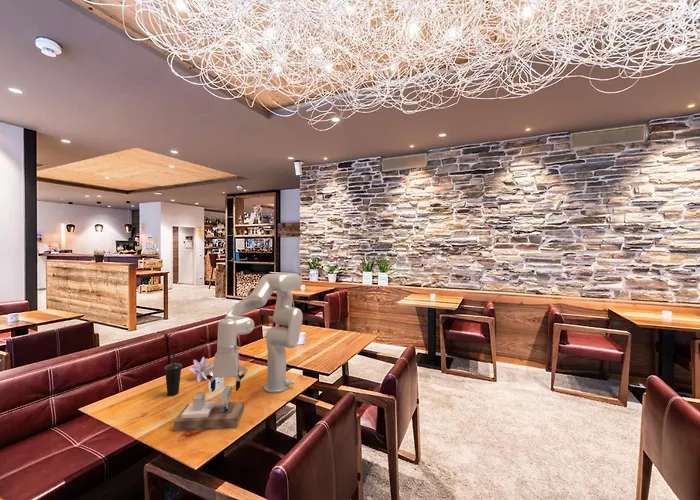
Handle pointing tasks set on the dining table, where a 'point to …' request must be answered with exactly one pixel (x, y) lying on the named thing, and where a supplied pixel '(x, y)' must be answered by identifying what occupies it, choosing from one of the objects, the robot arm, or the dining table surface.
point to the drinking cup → (173, 378)
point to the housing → (212, 419)
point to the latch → (223, 399)
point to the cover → (197, 407)
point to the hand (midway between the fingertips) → (225, 390)
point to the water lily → (200, 368)
